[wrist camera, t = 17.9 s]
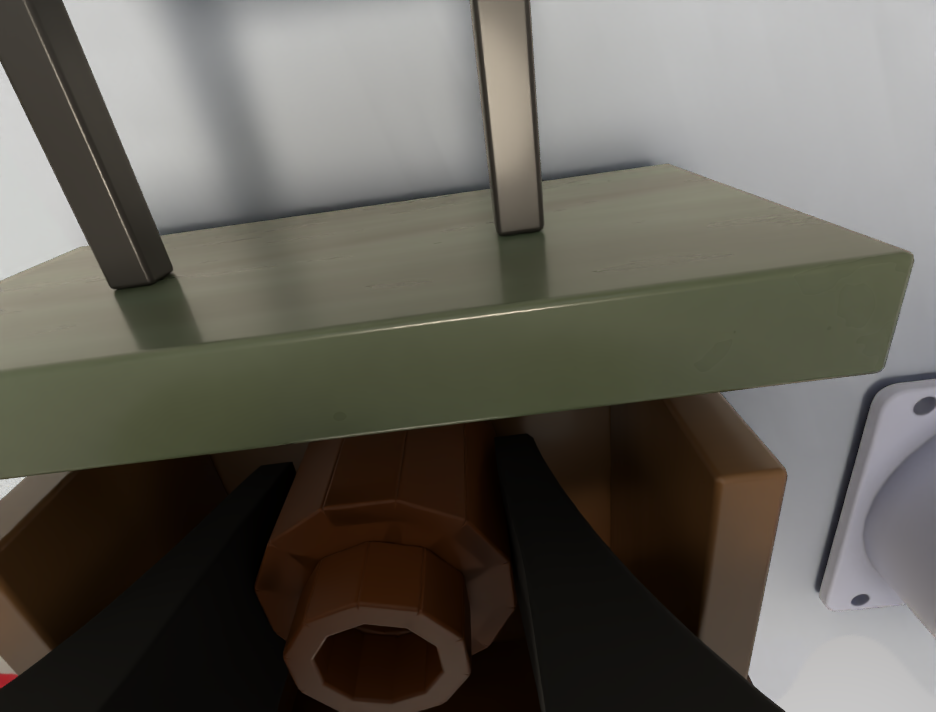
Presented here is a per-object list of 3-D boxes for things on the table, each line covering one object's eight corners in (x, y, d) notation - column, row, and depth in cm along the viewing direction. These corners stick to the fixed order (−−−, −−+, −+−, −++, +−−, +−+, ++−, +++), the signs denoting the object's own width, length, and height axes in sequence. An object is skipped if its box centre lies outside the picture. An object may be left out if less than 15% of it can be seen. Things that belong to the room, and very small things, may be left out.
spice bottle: (487, 361, 10) (508, 549, 6) (505, 509, 12) (532, 731, 8) (292, 385, 10) (182, 584, 6) (340, 527, 12) (281, 755, 8)
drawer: (-74, -63, 8) (-1099, -350, 3) (686, -193, 7) (1235, -861, 2) (276, 646, 16) (189, 915, 10) (649, 607, 15) (746, 870, 10)
